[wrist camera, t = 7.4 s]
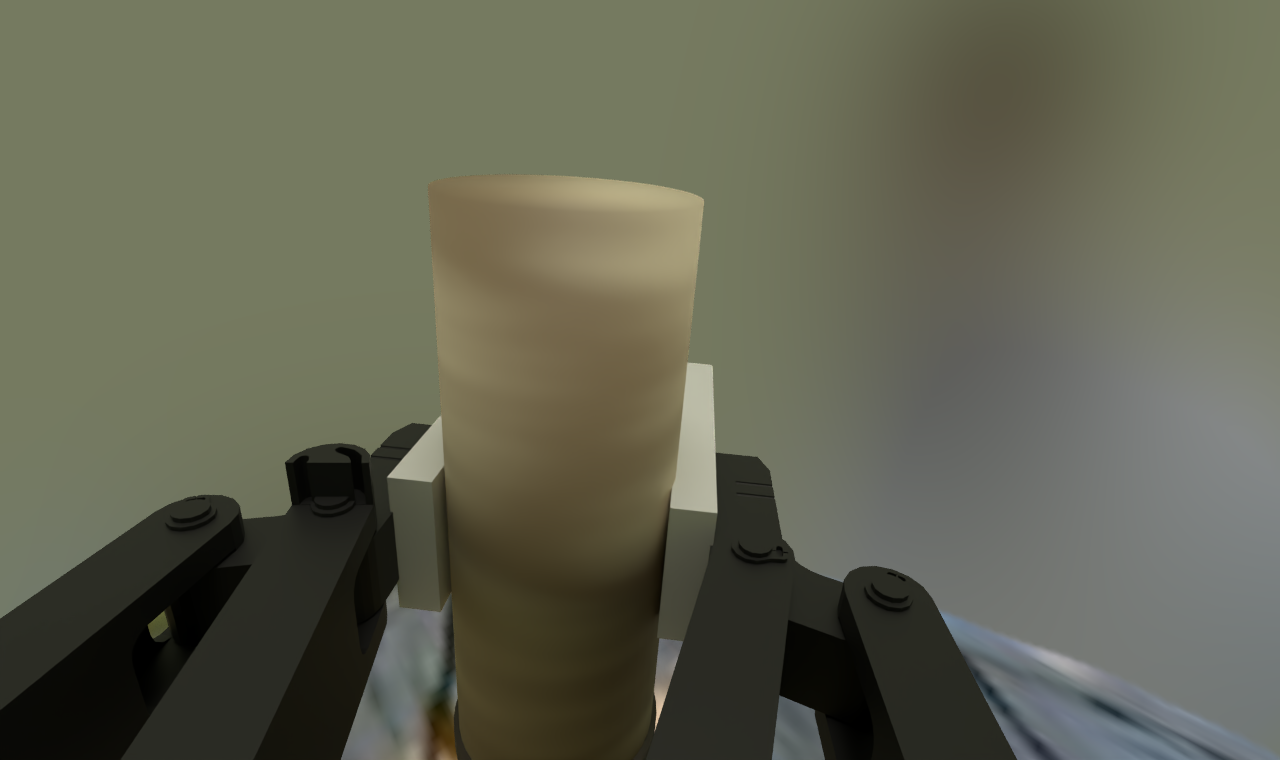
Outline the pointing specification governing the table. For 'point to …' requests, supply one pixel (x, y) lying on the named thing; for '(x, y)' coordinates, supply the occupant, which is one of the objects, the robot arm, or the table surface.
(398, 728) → the table surface
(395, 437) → the robot arm
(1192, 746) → the table surface
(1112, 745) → the table surface
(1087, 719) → the table surface
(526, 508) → the peg
